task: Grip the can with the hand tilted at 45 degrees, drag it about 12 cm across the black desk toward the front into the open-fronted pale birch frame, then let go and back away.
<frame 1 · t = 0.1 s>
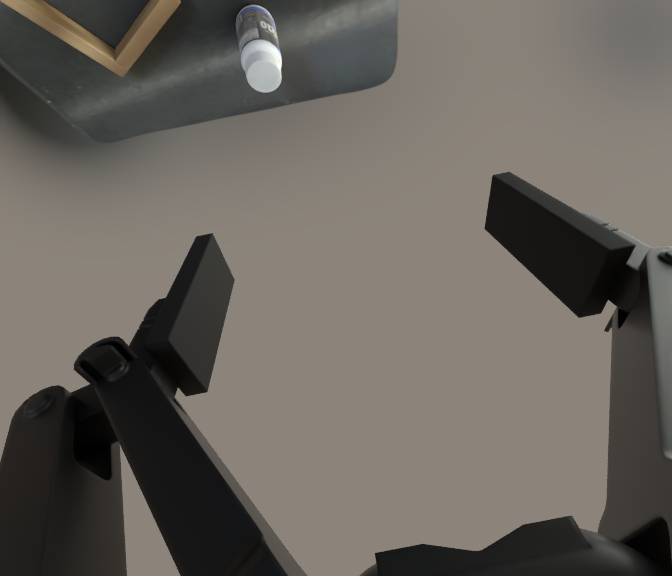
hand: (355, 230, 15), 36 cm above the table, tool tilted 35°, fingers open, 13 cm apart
pill bottle: (255, 24, 38), on the table
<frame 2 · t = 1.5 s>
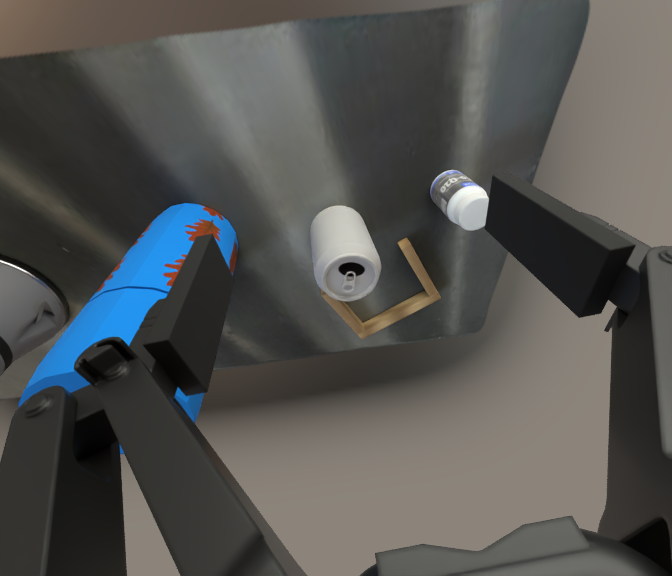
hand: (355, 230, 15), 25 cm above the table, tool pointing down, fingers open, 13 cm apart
thermos: (197, 240, 41), on the table
can: (336, 228, 43), on the table
pill bottle: (446, 187, 41), on the table
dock: (378, 286, 50), on the table
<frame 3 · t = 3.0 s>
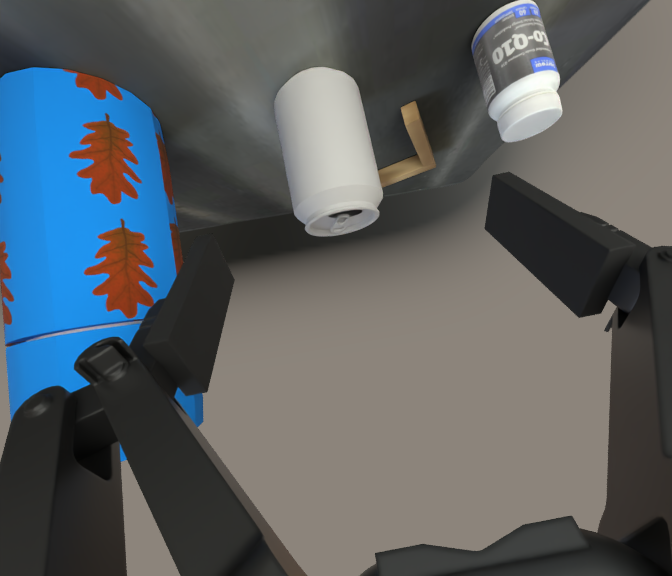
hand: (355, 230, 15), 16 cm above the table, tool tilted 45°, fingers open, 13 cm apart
thermos: (87, 119, 25), on the table
can: (314, 93, 27), on the table
pill bottle: (501, 26, 24), on the table
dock: (363, 154, 38), on the table
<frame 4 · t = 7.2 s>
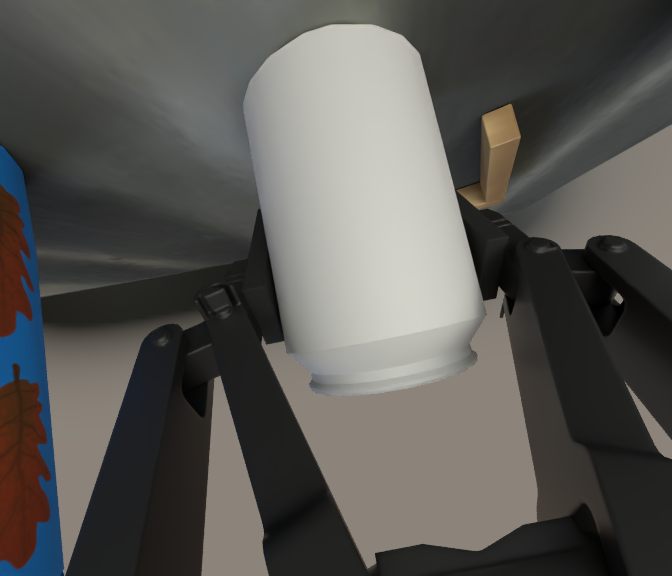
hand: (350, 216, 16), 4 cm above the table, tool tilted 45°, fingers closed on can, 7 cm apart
can: (329, 87, 13), on the table, touching gripper
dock: (398, 186, 24), on the table
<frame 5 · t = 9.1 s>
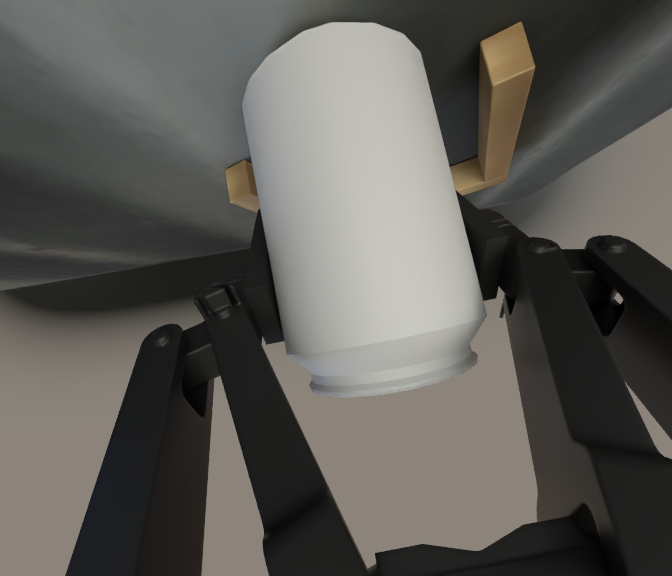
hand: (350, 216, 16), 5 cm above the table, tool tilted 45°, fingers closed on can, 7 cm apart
can: (329, 85, 13), on the table, touching gripper
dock: (376, 157, 20), on the table
when the fingers open (4 cm above the table, at t = 11.3 s): can stays where it is, on the table.
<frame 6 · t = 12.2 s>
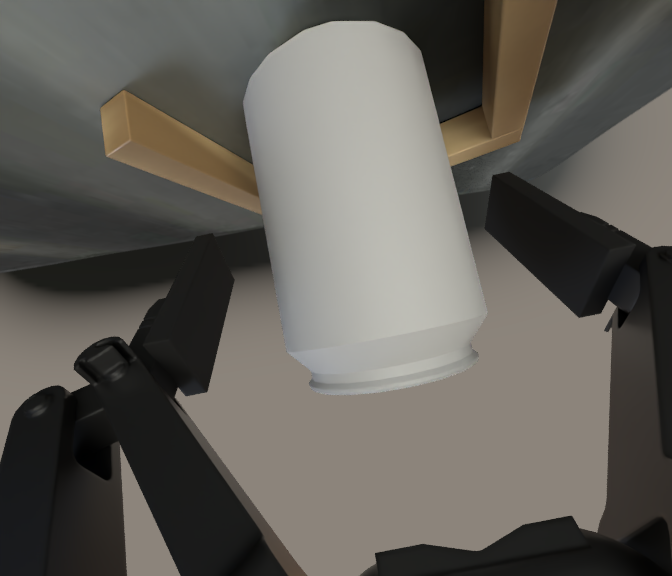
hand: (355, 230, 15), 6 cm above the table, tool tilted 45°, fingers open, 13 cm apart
can: (330, 85, 13), on the table
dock: (336, 98, 14), on the table
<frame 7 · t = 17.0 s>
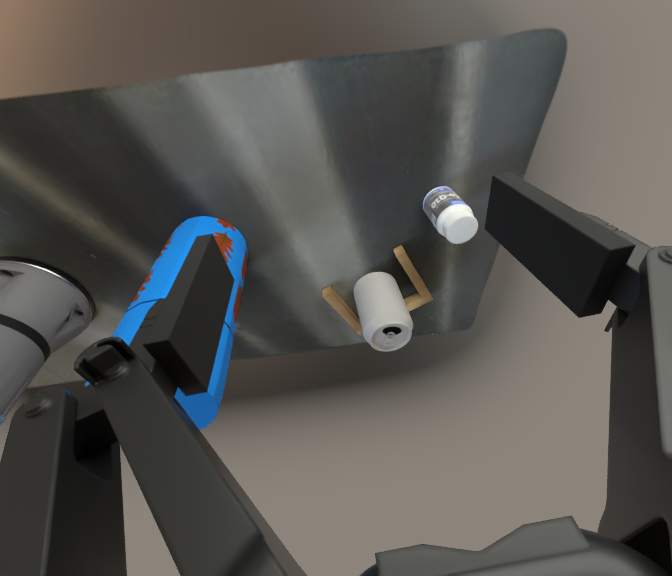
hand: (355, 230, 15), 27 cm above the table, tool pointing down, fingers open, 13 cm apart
thermos: (211, 247, 45), on the table
can: (373, 285, 54), on the table
pill bottle: (437, 200, 45), on the table
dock: (375, 288, 54), on the table
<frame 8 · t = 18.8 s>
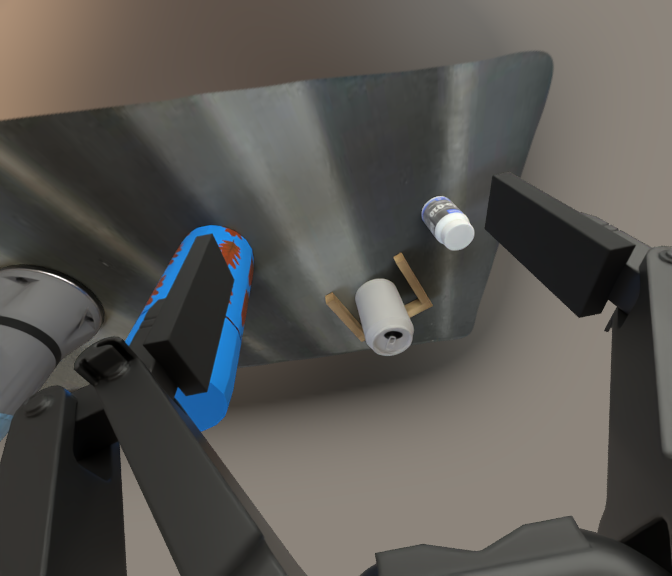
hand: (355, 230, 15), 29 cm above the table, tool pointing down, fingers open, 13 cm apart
thermos: (218, 255, 47), on the table
can: (375, 291, 55), on the table
pill bottle: (435, 210, 47), on the table
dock: (376, 294, 56), on the table
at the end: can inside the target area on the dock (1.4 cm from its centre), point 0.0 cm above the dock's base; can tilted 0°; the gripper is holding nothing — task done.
